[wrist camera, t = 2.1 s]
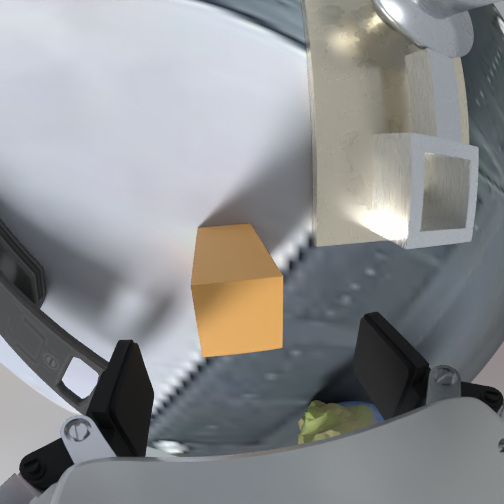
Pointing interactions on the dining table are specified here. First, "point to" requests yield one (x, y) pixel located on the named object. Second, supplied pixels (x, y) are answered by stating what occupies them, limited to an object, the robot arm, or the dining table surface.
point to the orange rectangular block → (236, 292)
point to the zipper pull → (37, 322)
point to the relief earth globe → (336, 419)
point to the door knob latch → (390, 121)
